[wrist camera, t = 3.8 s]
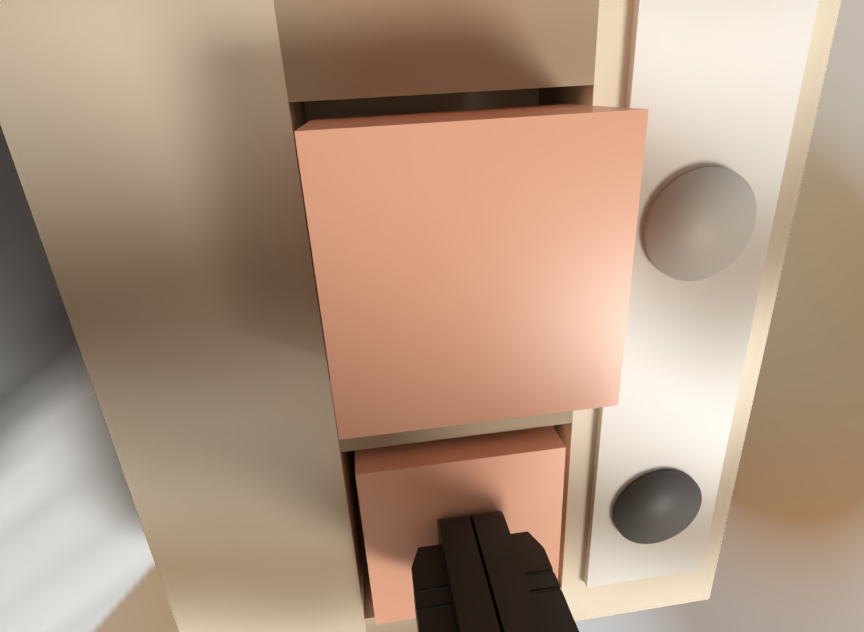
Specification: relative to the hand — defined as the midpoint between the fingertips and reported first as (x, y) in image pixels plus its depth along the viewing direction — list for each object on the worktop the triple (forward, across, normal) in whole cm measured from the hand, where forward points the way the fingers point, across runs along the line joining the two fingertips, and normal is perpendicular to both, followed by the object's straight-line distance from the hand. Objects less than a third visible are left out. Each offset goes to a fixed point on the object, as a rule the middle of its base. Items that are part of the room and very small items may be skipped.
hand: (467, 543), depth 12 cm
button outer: (+3, 0, 0) cm, 3 cm away
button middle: (+1, 0, -7) cm, 7 cm away
